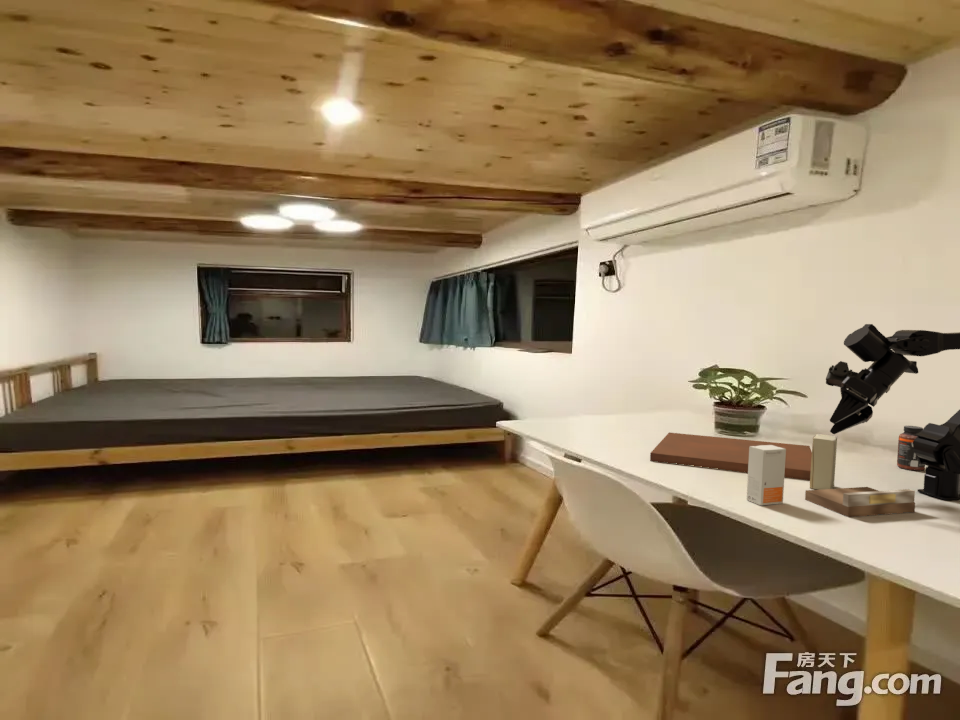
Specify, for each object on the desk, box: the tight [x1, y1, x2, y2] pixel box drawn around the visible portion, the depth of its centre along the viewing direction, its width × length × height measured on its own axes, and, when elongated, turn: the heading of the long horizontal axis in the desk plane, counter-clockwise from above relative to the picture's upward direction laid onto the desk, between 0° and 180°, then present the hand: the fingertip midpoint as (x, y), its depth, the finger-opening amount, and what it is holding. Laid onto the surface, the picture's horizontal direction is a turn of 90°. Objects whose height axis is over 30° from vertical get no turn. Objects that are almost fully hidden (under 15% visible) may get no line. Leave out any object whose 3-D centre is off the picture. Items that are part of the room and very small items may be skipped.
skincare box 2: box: [809, 433, 838, 490], centre depth 127 cm, size 6×4×12 cm
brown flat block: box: [804, 486, 916, 518], centre depth 115 cm, size 16×11×4 cm
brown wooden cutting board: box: [649, 432, 812, 481], centre depth 157 cm, size 40×3×33 cm
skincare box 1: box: [746, 445, 786, 506], centre depth 117 cm, size 6×4×12 cm
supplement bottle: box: [896, 425, 926, 472], centre depth 146 cm, size 6×6×11 cm
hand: (831, 427), depth 122 cm, fingers open, 9 cm apart
